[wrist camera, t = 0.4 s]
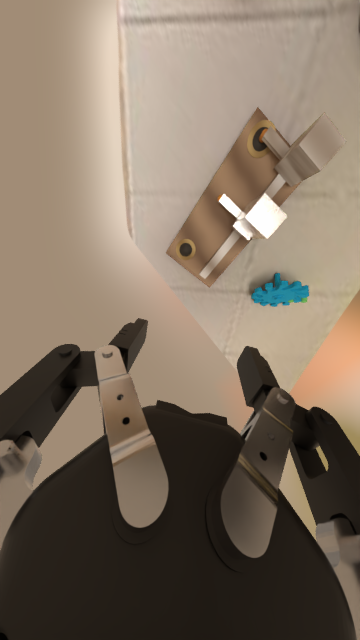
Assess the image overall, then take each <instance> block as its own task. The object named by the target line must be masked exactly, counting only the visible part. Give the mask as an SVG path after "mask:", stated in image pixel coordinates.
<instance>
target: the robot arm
mask: <svg viewBox="0 0 360 640" xmlns="http://www.w3.org/2000/svg"><path fill="white" fill-rule="evenodd" d="M147 324H148V321H147V320H144V319H140V318H138V319H137V320H136V322H135V323H128V324H126V325H124V327H123V328H122V329H121V330H120V331H119V333H118V334H117V335H116V336H115V337H114V339H113V340H112V341H111V342H110V343H109V344H108V345H105V346H102V347H100V348H98V349H97V350H96V351H80V348H79V347H78V346H77V345H74V344H65V345H61V346H58V347H56V348H55V349H53V350H52V351H51V352H50V353H49V354H47V355H46V356H45V357H44V358H43V359H42V360H41V361H39V362H38V363H37V364H36V365H35V366H34V367H32V368H31V369H30V370H29V371H28V372H27V373H25V374H24V375H23V376H22V377H21V378H20V379H19V380H17V381H16V382H15V383H14V384H13V385H11V386H10V387H9V388H8V389H7V390H6V391H5V392H4V393H2V394H1V395H0V549H1V550H0V640H360V456H359V455H358V453H357V451H356V450H355V448H354V447H353V445H352V444H351V442H350V441H349V439H348V438H347V436H346V435H345V433H344V432H343V430H342V429H341V427H340V426H339V424H338V423H337V421H336V420H335V419H334V418H333V417H332V416H331V415H330V414H329V413H327V412H326V411H325V410H323V409H321V408H319V407H312V408H311V409H310V410H307V409H305V408H303V407H301V406H299V405H297V404H296V403H295V401H294V399H293V398H292V397H291V395H290V394H289V393H287V392H286V391H285V390H283V389H281V388H280V387H279V385H278V383H277V380H276V378H275V376H274V374H273V373H272V370H271V368H270V366H269V364H268V362H267V361H266V360H265V359H264V358H263V357H262V356H260V353H259V351H258V349H257V348H253V347H249V346H246V347H245V348H244V350H243V352H242V354H241V355H240V357H239V359H238V362H237V369H238V373H239V377H240V381H241V385H242V389H243V393H244V397H245V401H246V405H247V406H249V407H253V408H254V411H253V413H252V414H251V416H250V418H249V419H248V421H247V423H246V425H245V426H244V428H243V430H242V431H241V433H240V434H239V433H238V432H237V431H236V430H235V429H234V428H232V427H231V426H229V425H228V424H227V418H226V417H222V416H218V415H214V414H210V413H204V414H203V413H202V414H201V413H200V414H192V413H189V412H188V411H186V410H184V409H182V408H180V407H179V406H177V405H175V404H171V403H168V402H163V401H160V400H158V401H157V404H156V405H155V406H147V407H143V408H141V405H140V402H139V399H138V396H137V393H136V390H135V387H134V384H133V381H132V378H131V376H130V374H129V373H128V372H129V370H130V368H131V366H132V364H133V363H134V361H135V359H136V357H137V355H138V353H139V351H140V349H141V348H142V346H143V344H144V342H145V338H146V332H147ZM83 386H97V387H98V394H99V401H100V407H101V415H102V424H103V431H104V435H103V436H102V437H100V438H99V439H98V440H96V441H95V442H94V443H92V444H91V445H90V446H89V447H87V448H86V449H84V450H83V451H82V452H80V453H79V454H78V455H77V456H75V457H74V458H73V459H71V460H70V461H69V462H67V463H66V464H65V465H63V466H62V467H61V468H60V469H58V470H57V471H55V472H54V473H53V474H51V475H50V476H49V477H47V478H46V479H45V480H44V481H43V482H42V483H41V484H40V485H39V486H38V487H37V488H36V489H35V490H33V480H34V477H35V475H36V473H37V471H38V469H39V467H40V464H41V461H42V454H41V452H40V450H39V447H40V445H41V444H42V443H43V441H44V440H45V438H46V437H47V436H48V434H49V433H50V431H51V430H52V428H53V427H54V426H55V424H56V423H57V421H58V420H59V418H60V417H61V416H62V414H63V413H64V411H65V410H66V408H67V407H68V406H69V404H70V403H71V401H72V400H73V399H74V397H75V396H76V394H77V393H78V392H79V390H80V389H81V387H83ZM318 446H320V447H321V449H322V451H323V453H324V455H325V457H326V459H327V461H328V471H326V469H325V467H324V465H323V463H322V461H321V459H320V457H319V454H318V452H317V450H316V447H318ZM289 449H290V452H291V455H292V458H293V460H294V463H295V466H296V469H297V472H298V474H299V477H300V480H301V483H302V486H303V489H304V491H305V494H306V497H307V500H308V503H309V506H310V509H311V511H312V514H313V517H314V520H315V522H316V526H317V527H316V539H317V542H316V540H315V539H314V537H313V536H312V535H311V533H310V532H309V530H308V529H307V527H306V526H305V525H304V523H303V522H302V520H301V519H300V517H299V516H298V515H297V513H296V512H295V510H294V509H293V507H292V506H291V505H290V503H289V502H288V501H287V499H286V497H285V496H284V495H283V493H282V492H281V491H280V489H279V484H280V481H281V477H282V473H283V469H284V465H285V462H286V458H287V454H288V450H289Z"/></svg>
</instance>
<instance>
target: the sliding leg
mask: <svg viewBox="0 0 360 640" xmlns="http://www.w3.org/2000/svg"><path fill="white" fill-rule="evenodd" d="M217 201H218V203H220V204H221V205H222V206H223V207H224V208H225V209H226V210H227V211H228V212H229V213H230V214H232V215H233V216H234V217H235V218H236V220H235V222H234V223H233V224H232V225H231V227H232V228H233V229H234V230H235V231H236V232H237V233H238V234H239V235H240V236H241V237H242V238H243V239H245V240H249V239H250V238H256V239H268V238H269V236H270V235H271V234H272V233H273V232H274V231H275V230H276V229H277V228H278V227H279V226H280V224H281V223H282V222H283V221H284V220H285V219H286V218H287V217H288V216H287V215H286V214H285V213H284V212H283V211H282V210H281V209H280V208H279V207H278V206H277V205H276V204H275V203H274V202H273V201H272V200H271V199H270V197H269V196H268V195H267V194H266V193H264V194H262V195H261V196H259V197H258V198H256V199H255V200H253V201H252V202H250V203H249V204H248V205H247V206H246V207H245V209H244V210H243V211H241V210H240V209H239V208H238V207H237V206H236V205H235V204H234V203H233V202H232V201H231V200H230V199H229V198H228V197H227V196H226V195H225V194H223V195H219V196H218V199H217Z"/></svg>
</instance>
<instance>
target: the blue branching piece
mask: <svg viewBox="0 0 360 640" xmlns="http://www.w3.org/2000/svg"><path fill="white" fill-rule="evenodd" d="M265 289H266V291H262V288H260V287H259V288H256V289H255V293H252V295H251V298H252V299H254V303H259V302H260V305H262V306H265V305H267V304H270V303H271V306H274V307H276V306H277V304H279V303H281V302H282V303H283V305H290V302H295V303H297V302H300V301H301V302H302V303H304V302H307V297H308V296H309V292H308V291H309V289H308V285H306V286H302V285H301V282H299V281H295V282H294V283H293V284H291V285H288V281H280V273H277V274H275V287H273V283H267V284H265Z"/></svg>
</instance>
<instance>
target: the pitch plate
mask: <svg viewBox="0 0 360 640" xmlns="http://www.w3.org/2000/svg"><path fill="white" fill-rule="evenodd" d="M346 142H347V141H346V140H345V139H344V137H343V136H342V135H341V133H340V132H339V131H338V129H337V128H336V126H335V125H334V124H333V122H332V121H331V120H330V118H329V117H328V116H327V114H326V113H325V112H324V113H323V114H322V115H321V116H320V117H319V118H318V119H317V120H316V121H315V122H314V123H313V124H312V125H311V126H310V127H309V128H308V129H307V130H306V131H305V132H304V133H303V134H302V135H301V136H300V137H299V138H298V139H297V140H296V141H295V142H294V143H293V144H292V145H291V146H290V145H289V144H288V142H287V141H286V140H285V139H284V138H283V136H282V135H281V134H280V133H279V132H278V130H277V129H276V128H275V126H274V124H273V123H272V122H271V121H269V120H268V119H267V117H266V116H265V115H264V114H263V113H262V112H261V110H260V109H259V108H257V109H256V111H255V112H254V114H253V115H252V117H251V119H250V120H249V122H248V123H247V125H246V127H245V128H244V130H243V131H242V133H241V135H240V136H239V138H238V139H237V141H236V142H235V144H234V146H233V147H232V149H231V150H230V152H229V154H228V155H227V157H226V158H225V160H224V162H223V163H222V165H221V166H220V168H219V169H218V171H217V173H216V174H215V176H214V177H213V179H212V181H211V182H210V184H209V185H208V187H207V188H206V190H205V192H204V193H203V195H202V196H201V198H200V200H199V201H198V203H197V204H196V206H195V208H194V209H193V211H192V212H191V214H190V215H189V217H188V219H187V220H186V222H185V223H184V225H183V227H182V228H181V230H180V231H179V233H178V235H177V236H176V238H175V239H174V241H173V242H172V244H171V246H170V247H169V249H168V250H167V252H166V253H167V254H168V255H169V256H170V257H172V258H173V259H174V260H175V261H177V262H178V263H179V264H180V265H182V266H183V267H184V268H185V269H187V270H188V271H189V272H191V273H192V274H193V275H194V276H196V277H197V278H198V279H199V280H201V281H202V282H203V283H204V284H206V285H207V286H208V287H209V288H210V286H211V285H212V284H213V283H214V282H215V281H216V279H217V278H218V277H219V276H220V275H221V274H222V273H223V271H224V270H225V269H226V268H227V267H228V266H229V264H230V263H231V262H232V261H233V260H234V259H235V258H236V256H237V255H238V254H239V253H240V252H241V251H242V249H243V248H244V247H245V246H246V245H247V244H248V243H249V241H250V240H251V239H252V238H250V239H249V240H245V239H243V238H242V237H241V236H240V235H239V234H238V233H237V232H236V231H235V230H234V229H233V228H232V227H231V225H232V224H233V223H234V222H235V220H236V218H235V217H234V216H233V215H232V214H230V213H229V212H228V211H227V210H226V209H225V208H224V207H223V206H222V205H221V204H220V203H218V201H217V199H218V196H219V195H223V194H225V195H226V196H227V197H228V198H229V199H230V200H231V201H232V202H233V203H234V204H235V205H236V206H237V207H238V208H239V209H240V210H241V211H243V210H244V209H245V207H246V206H247V205H248V204H249V203H250V202H252V201H253V200H255V199H256V198H258V197H259V196H261V195H262V194H264V193H266V194H267V195H268V196H269V197H270V199H271V200H272V201H273V202H274V203H275V204H276V205H277V206H278V207H280V206H281V205H282V203H283V202H284V201H285V200H286V199H287V198H288V196H289V195H290V194H291V193H292V192H293V191H294V190H295V188H296V187H297V186H298V185H299V184H300V183H301V181H303V180H305V179H307V178H308V177H310V176H312V175H314V174H316V173H318V172H319V171H321V170H322V169H323V168H324V166H325V165H326V164H327V163H328V162H329V161H330V160H331V159H332V157H333V156H334V155H335V154H336V153H337V152H338V151H339V150H340V149H341V147H342V146H343V145H344V144H345V143H346Z"/></svg>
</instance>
